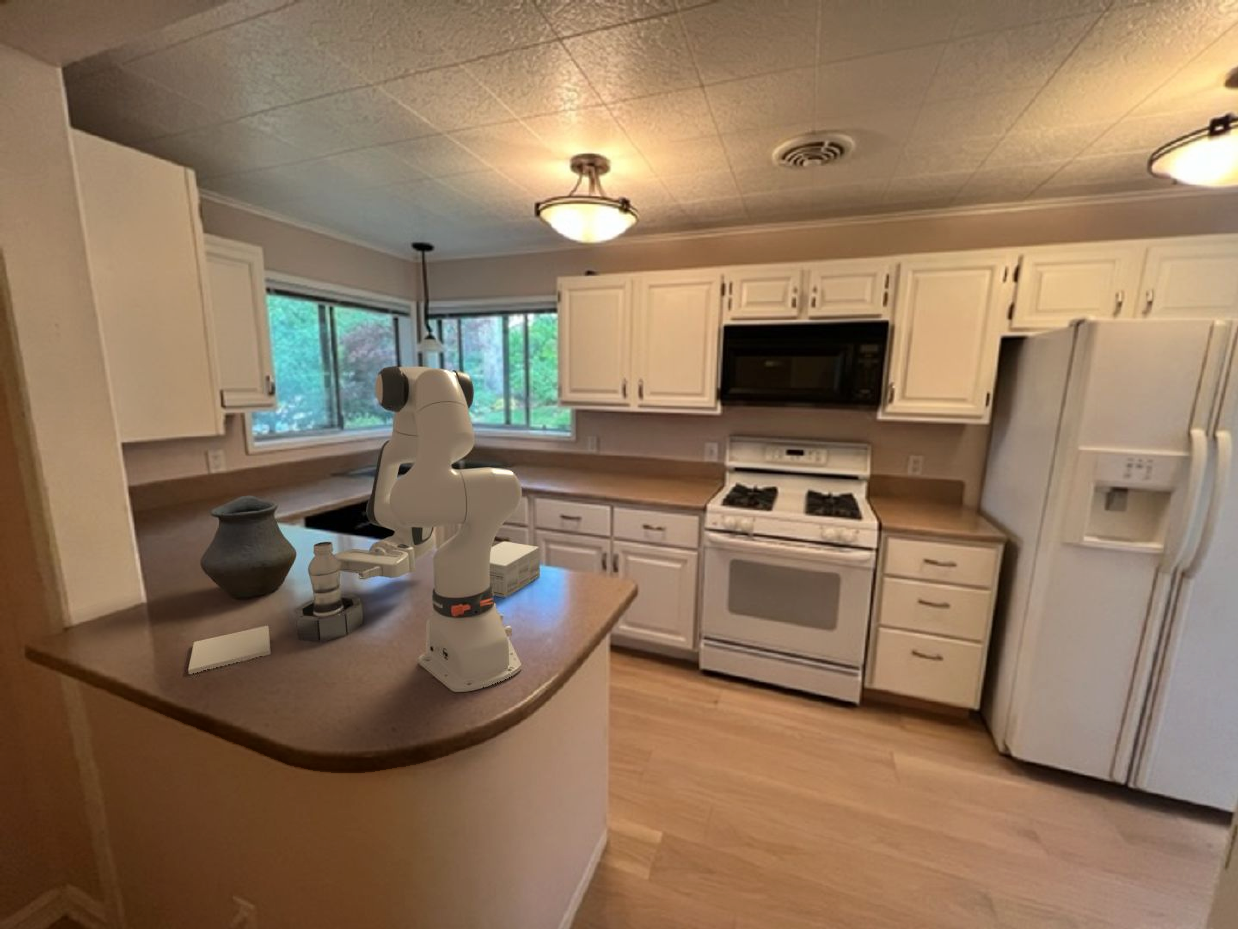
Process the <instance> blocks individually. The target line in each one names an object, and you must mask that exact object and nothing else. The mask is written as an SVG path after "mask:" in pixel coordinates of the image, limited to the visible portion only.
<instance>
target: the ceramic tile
mask: <svg viewBox="0 0 1238 929" xmlns="http://www.w3.org/2000/svg"><path fill="white" fill-rule="evenodd" d="M270 640H271V639H270V630H269V625H265V626H264V625H263V626H261V627H260V626H259V627H255V628H250V629H247V630H242V631H238V632H237V631H236V632H233V633H229V634H224V635H219V636H215V637H211V638H206V639H202V640H196V641H194V642H193V646H192V649H191V654H190V660H189V665H188V670H187V671H188V675H189V674H190V675H193V673H194V674H196V673H197V672H198V673H201V671H202V672H204V671H203V670H206V671H208V670H207V669H210V670H214V669H217V668H216V667H218V668H221V667H220V666H222V667H225V665H226V666H229V665H228V664H230V665H233V663H234V664H237V663H236V662H238V663H242V662H246V661H249V659H250V660H252V658H254V659H256V658H255V657H258V658H260V657H259V656H262V657H265V656H266V657H267V656H269V655H271V654H272V653H271V641H270ZM241 661H242V662H241ZM213 668H214V669H213ZM198 673H197V674H198Z"/></svg>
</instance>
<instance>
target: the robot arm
mask: <svg viewBox="0 0 1238 929" xmlns="http://www.w3.org/2000/svg"><path fill="white" fill-rule="evenodd" d="M374 393H375V396H376V399H377V401H378V404H379V405H380V407H381V408H382V409H384V410H386V411H389V412H393V419H392V434H391V436H390V439H389V440H387V441H385V442H384V443H383V445H382V446H381V447H380V451H379V455H378V458H377V465H376V468H375V473H374V474H375V475H374V480H373V482H372V483H373V484H372V490H371V494H370V496H369V499H368V500H367V501H368V502H367V504H366V509H365V510H366V511H365V512H366V516H367V519H368V521H369V522H370V523H371V524H372V525H374V526H378V527H381V528H386V529H389V530H392V531H394V533H393V535H391V536H388V537H386V538H383V539H380V540H377V541H376V542H373V543H372V544H371V545H370V548H369V549H367V550H365V549H357V548H354V549H353V548H351V549H347V550H344V551H340V552H337V553H333V554H334V555H335V556H336V557H337V558H338V560H339V561H340V564H341V571H340V572H346V573H351V574H352V573H353V574H358V579H360V580H368V579H370V578H375V577H383V578H389V579H390V578H391V579H394V578H399V577H402V576H403V575H406V574H408V573H412V572H414V571H415V564H416V563H415V561H416V560H419V559H420V558H422V557H423V556H425V555H426V554H428V553H429V552H430V551H431V549H433V547H434V545H435V542H436V536H435V533H434V528H435V527H436V528H437V527H443V526H451V525H452V526H453V525H458V524H459V525H460V524H461V525H460V527H459V529H458V531H457V532H456V533H455V534H454V535H453V536H452V537H451V538H449V539H447V540H445V541H444V542H443V543H442V544H440V545H439V547H438V548H437V549H436V551H435V553H434V555H433V558H432V565H433V566H432V567H433V584H434V585H433V586H434V588H433V589H432V595H431V602H432V608H433V611H432V613H431V615H430V616H429V617H428V619H427V621H426V623H425V624H426V626H425V628H426V629H425V652H423V653H422V654H420V656H419V657H418V664H419V665H420V666H421V667H422V668H423V669H425V670H426V671H427V672H428V673H430V674H431V675H432V676H433V677H435V679H437V680H438V681H440V682H441V683H442V684H443V685H444V686H445V687H447V688H448V689H449V690H450V691H451V692H454V693H462V692H471V691H476V690H480V689H483V687H484V688H486V687H490V686H493V685H495V683H496V684H498V683H501V682H503V681H506V680H508V679H509V677H510V678H512V677H513V676H514V675H516V674H518V673H519V672H520V671H521V670H522V663H521V661H520V659H519V655H518V654H517V652H516V650H515V648H514V646H513V644H512V642H511V640H510V638H511V637H512V636H513V629H512V626H511V625H505V626H504V624H503V621H504V614H503V613H499V611H498V609H497V608H498V607H497V604H496V602H495V597H494V596H495V595H494V593H493V589H492V584H491V583H490V553H491V547H493V543H494V540H495V538H496V535H497V534H498V532H499V530H500V528H501V527H502V525H503V524H504V523H505V521H506V520H507V519H508V518H509V517H511V515H512V514H514V513H515V512H516V511H517V509H518V508H519V506H520V504H521V501H522V497H523V489H522V486H521V482H520V480H519V478H518V477H517V475H516V474H515V473H514V472H513V471H512V470H510V469H506V468H499V467H489V466H488V467H477V468H476V467H475V468H465V469H464V468H462V469H455V468H453V467H452V465H453V464H455V463H456V462H458V461H459V460H462V459H463V458H464V457H466V456H467V455H468V454H469V453H470V452H471V451H472V449H473V448H474V445H475V440H476V438H475V437H476V436H475V433H474V428H473V424H472V421H471V414H470V410H469V409H470V408H471V407H472V405H473V402H474V398H475V396H474V395H475V389H474V383H473V380H472V379H471V378H470V376H469V375H468V373H466V372H463V371H459V370H455V369H453V370H449V369H444V368H435V367H427V366H400V367H399V366H398V365H392V366H391V365H390V366H386V367H383V368H382V369H381V370H380V371H379V372H378V374H377V377H376V379H375V382H374ZM410 463H411V464H412V463H413V465H412V466H411V468H410V469H409V470H408V471H407V472H406V473H405V474H403V475H402V476H401V477H399V478H397V477H398V473H399V468H400V466H401V464H410ZM511 676H512V677H511ZM505 679H506V680H505ZM500 681H501V682H500ZM497 682H498V683H497ZM492 684H493V685H492Z"/></svg>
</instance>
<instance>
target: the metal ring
mask: <svg viewBox="0 0 1238 929" xmlns="http://www.w3.org/2000/svg"><path fill="white" fill-rule="evenodd" d="M341 599H342V604H343V607H344V610H345V611H343V612H341V613H337V614H332V615H328V616H324V617H313V610H314V598H313V599H310V600H308V601H306V602H305V603H303V604H302V605H300V606H298V607H296V608H295V609H293V612H294V615H293V616H294V625H295V626H294V627H295V634H296V638H297V640H298V641H308V642H315V643H319V642H325V641H329V640H332V639H338V638H340V637H345V636H347V635H350V634H351V633H353V632H354V631H355V630H356V629H358V628H359V627H361V626H362V625H363V624H364V623H363V622H364V620H363V619H364V618H363V608H362V607H363V606H362V602H361V600H360V598H359V596H358V595H350V594H341Z"/></svg>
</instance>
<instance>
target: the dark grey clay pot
mask: <svg viewBox="0 0 1238 929" xmlns="http://www.w3.org/2000/svg"><path fill="white" fill-rule="evenodd" d="M277 509H278V503H277V501H276V502H275V501H273V500H264V499H261V498H258V497H257V496H254V495H244V496H239V497H237V498H235V499H233V500H231V501H229V502H227V503H225V504H222V505H220V506H218V507H214V508H213V509H211V510H210V515H211V517H215V518H217V519H218V526H217V529H216V532H215V534H214V537H213V540H212V541H211V543H210V544H209V546H208V547H207V548H206V550H205V551H204V553H203V554H202V556H201V558H200V561H199V562H200V563H199V564H200V567H201V570H202V571H203V573H204V574H206V576H208V577H209V579H211V580H212V582H214V583H215V584H216V585H217V586H218V587H219V588H220V589H222V590H224V592H226V593H227V594H228V595H229V596H231V598H233V599H235V600H243V599H249V598H253V597H258V596H261V595H264V594H269V593H270V592H273V591H275V590H276V589H278V588H279V587H281V586H282V585H283V584H284V583H285V581H286V579H287V577H288V574H289V572H290V571H291V570H292V568H293V565H294V563H295V561H296V559H297V550H296V548H295V547H294V546H293V544H292V543H291V542H290V541H289V540H288V539H287V538H286V537H285V535H284V534H283V532H282V530H281V528H280V526H279V524H278V521H277V519H276V516H275V512H276V510H277Z"/></svg>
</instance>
